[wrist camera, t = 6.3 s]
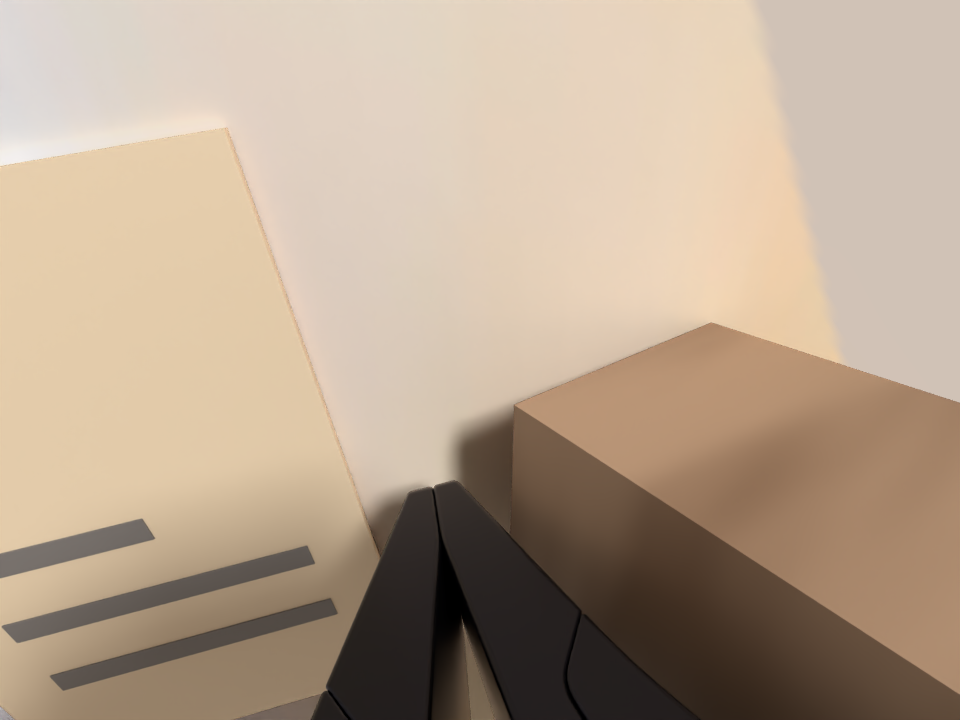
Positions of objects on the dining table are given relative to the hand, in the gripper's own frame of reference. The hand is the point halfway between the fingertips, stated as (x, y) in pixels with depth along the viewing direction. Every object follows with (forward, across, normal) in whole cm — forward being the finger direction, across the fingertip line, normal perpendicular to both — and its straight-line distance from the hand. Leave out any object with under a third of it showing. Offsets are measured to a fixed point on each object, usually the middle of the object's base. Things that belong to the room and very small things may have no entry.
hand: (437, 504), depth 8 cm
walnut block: (0, -3, +1) cm, 3 cm away
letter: (+2, +6, 0) cm, 6 cm away
